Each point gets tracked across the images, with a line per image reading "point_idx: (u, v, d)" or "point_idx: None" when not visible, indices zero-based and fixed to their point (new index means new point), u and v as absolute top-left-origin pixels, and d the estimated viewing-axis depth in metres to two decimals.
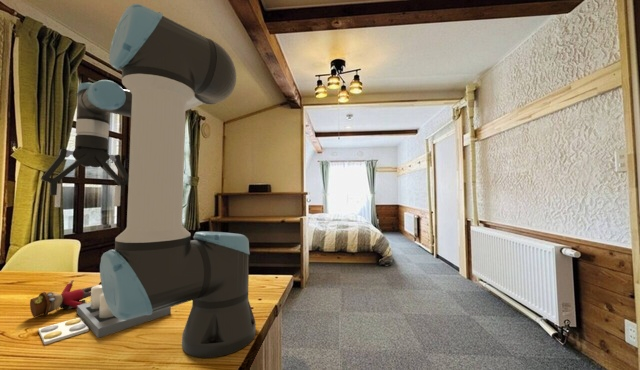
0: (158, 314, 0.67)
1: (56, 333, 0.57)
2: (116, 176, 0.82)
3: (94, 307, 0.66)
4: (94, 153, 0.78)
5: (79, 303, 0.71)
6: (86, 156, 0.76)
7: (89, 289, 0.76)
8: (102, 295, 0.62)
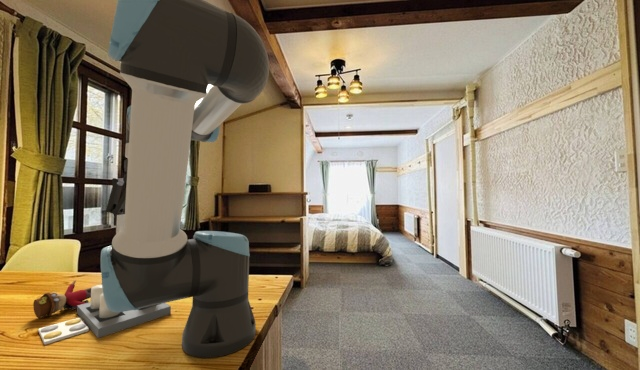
0: (158, 314, 0.67)
1: (56, 333, 0.57)
2: None
3: (94, 307, 0.66)
4: None
5: (83, 303, 0.71)
6: None
7: None
8: (102, 295, 0.62)
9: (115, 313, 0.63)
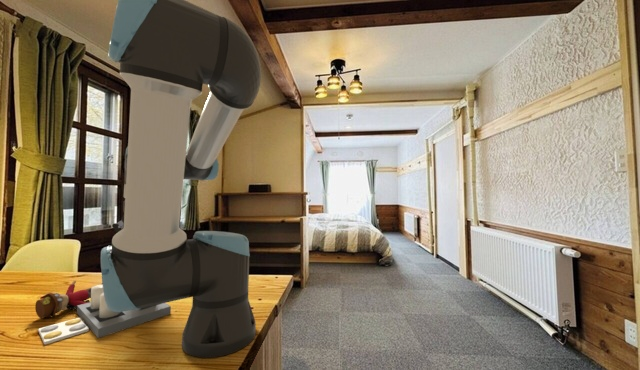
0: (158, 314, 0.67)
1: (56, 333, 0.57)
2: None
3: (94, 307, 0.66)
4: None
5: None
6: None
7: None
8: (102, 295, 0.62)
9: (115, 313, 0.63)
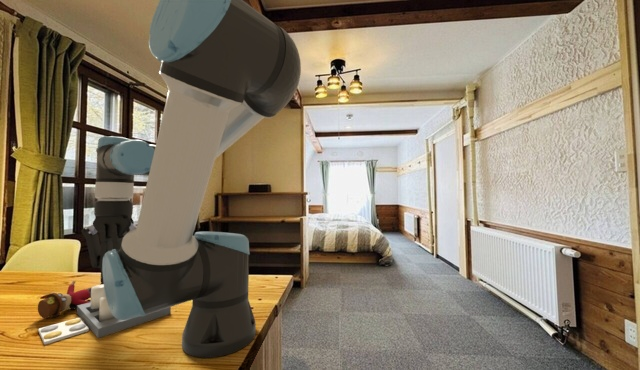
0: (158, 314, 0.67)
1: (56, 333, 0.57)
2: None
3: (94, 307, 0.66)
4: None
5: (88, 302, 0.72)
6: (101, 227, 0.62)
7: None
8: (102, 299, 0.62)
9: None
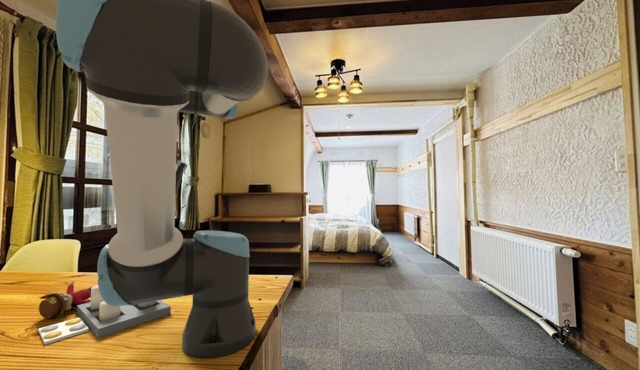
0: (158, 314, 0.67)
1: (56, 333, 0.57)
2: None
3: (94, 307, 0.66)
4: None
5: None
6: None
7: None
8: (102, 304, 0.62)
9: None
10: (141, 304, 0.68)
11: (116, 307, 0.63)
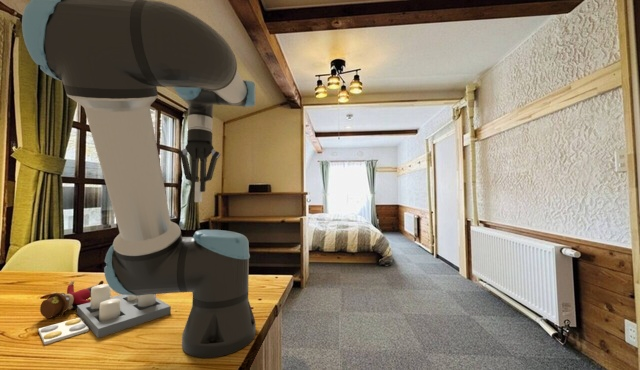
0: (158, 314, 0.67)
1: (56, 333, 0.57)
2: (202, 171, 0.84)
3: (94, 307, 0.66)
4: None
5: (90, 301, 0.72)
6: (193, 149, 0.83)
7: None
8: (102, 304, 0.62)
9: None
10: (141, 304, 0.68)
11: (116, 307, 0.63)
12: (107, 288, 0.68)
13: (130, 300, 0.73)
